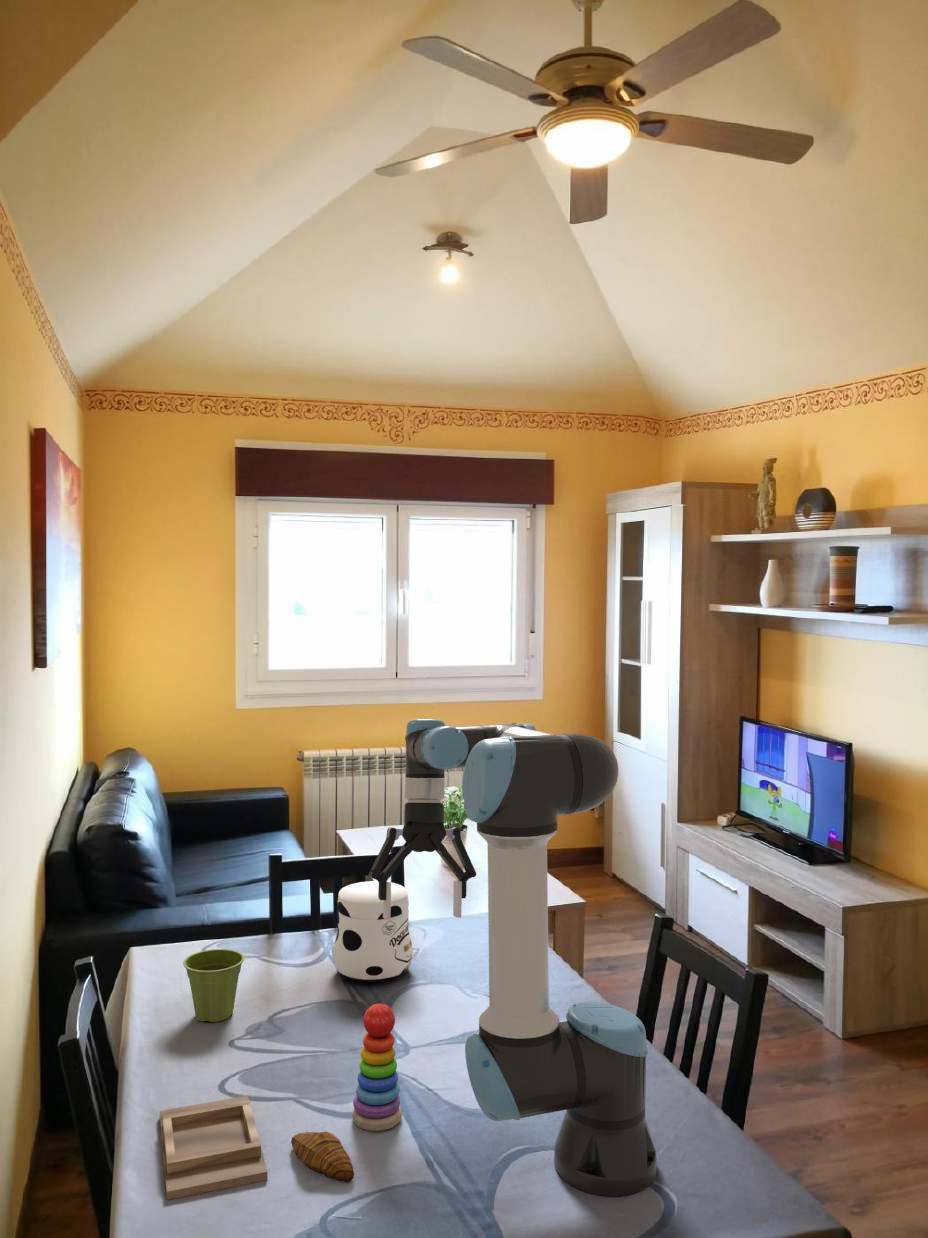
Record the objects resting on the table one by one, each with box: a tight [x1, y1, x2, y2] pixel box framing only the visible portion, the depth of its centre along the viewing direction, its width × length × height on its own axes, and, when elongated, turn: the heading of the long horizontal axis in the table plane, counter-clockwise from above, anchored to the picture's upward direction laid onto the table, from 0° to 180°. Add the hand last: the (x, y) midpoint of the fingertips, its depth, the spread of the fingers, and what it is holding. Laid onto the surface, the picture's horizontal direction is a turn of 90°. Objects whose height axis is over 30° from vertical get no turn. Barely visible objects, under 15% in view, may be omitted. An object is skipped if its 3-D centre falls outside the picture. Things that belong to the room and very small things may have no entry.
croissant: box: [290, 1131, 355, 1183], centre depth 147 cm, size 14×7×5 cm, turn 47°
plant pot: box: [182, 948, 245, 1023], centre depth 196 cm, size 12×12×11 cm
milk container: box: [333, 880, 414, 983], centre depth 217 cm, size 17×17×18 cm
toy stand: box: [159, 1095, 269, 1201], centre depth 152 cm, size 22×14×3 cm, turn 20°
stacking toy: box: [351, 1003, 403, 1132], centre depth 159 cm, size 8×8×19 cm
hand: (422, 918), depth 184 cm, fingers open, 13 cm apart
